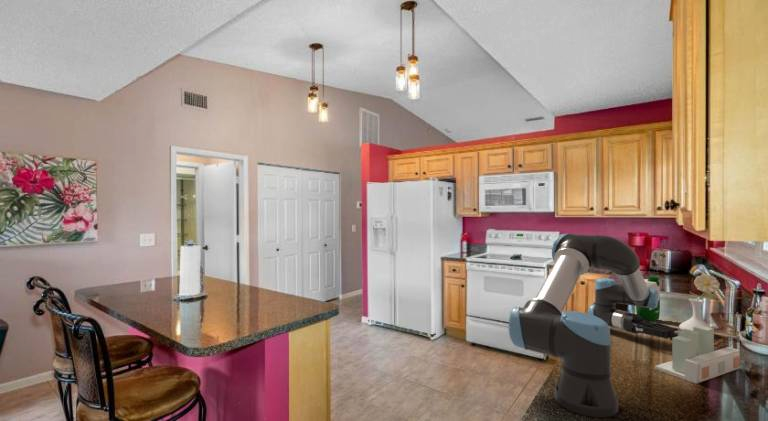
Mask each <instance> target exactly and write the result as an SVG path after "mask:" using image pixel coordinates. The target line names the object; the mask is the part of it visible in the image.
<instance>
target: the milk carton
mask: <svg viewBox="0 0 768 421" xmlns="http://www.w3.org/2000/svg"><path fill="white" fill-rule="evenodd" d="M644 280H645V283H646V285H647V287H648V289H649V288H650V289H654V290H656V291H657V292H658V305H657V307H656V308H645V307H639V306H635V312H636V313H635V314H637V315H640V316H641V317H642V319H643V321H645V320H646V321H650V322H652V323H655V322H657V321H658V320H660V315H661V314H660V313H661V280H659V276H655V275H654V276H653V275H648V276H647V278H646V279H645V278H644Z"/></svg>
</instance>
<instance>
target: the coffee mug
mask: <svg viewBox="0 0 768 421" xmlns="http://www.w3.org/2000/svg"><path fill="white" fill-rule="evenodd" d="M615 309H617V310H621V311H625V312H629V310H628V309H629V305H626V304H620V303H616V306H615Z"/></svg>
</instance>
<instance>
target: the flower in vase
mask: <svg viewBox="0 0 768 421" xmlns="http://www.w3.org/2000/svg"><path fill="white" fill-rule="evenodd" d="M693 282H694V283H693V285H695V288H696V289H697V290H699V291H701V292H703V293H702V294H701V296H699V295H698V294H696V293H693V292H692V291H690V290H689V291H688V292H689V294H691V295H693V296H696V297H698V298H688V300H689V302H690V303H691V306H692V315H691V317H690V318H689V319H687V320H685V321H682V322H681V323H680V324H679V325H678V327H679V329H680V330H683V329H687V330H690V331H693V327H696V326H704V327H708V328H712V329H714V328H713V327H712V326H711V325H709V324H708V323H706V322H705V321H704V320H703V319H702V317H701V307H702V305H703V304H704V302H705V300H703V299H701V298H702V297H705V298H706V299H709V300H712V299H713V300H714V299H718V297H717V296H716V295H715V294H713V293H714V292H718V290H719V288H720V286H721V284H720V282H719V280H718V279H717V278H716V277H715V276H712V275H711V274H707V273H705V274H700V275H698V276H696V277H695V279H694V281H693Z"/></svg>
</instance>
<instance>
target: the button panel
mask: <svg viewBox="0 0 768 421" xmlns="http://www.w3.org/2000/svg"><path fill="white" fill-rule="evenodd" d="M737 352H738V353H739V356H740V357H741V355H740V352H741V350H740V349H738V348H733V347H729V346H727V347H724V348H720V349H717V350H714V351H713V352H710V353H706V354H703V355H700V356H696V357H693V358H690V359H686V360H685V373H682V372H679V371H676V370H674V369H672V360H670V361H667V362H664V363H660V364H657V365H654V369H655V370H657V371H660V372H663V373H665V374H668V375H671V376H674V377H677V378H679V379H683V380H685V381H688V382H690V383H693V384H699V383H702V382H704V381H702V382H700V381H699V364H702V363H706V362H709V361H712V360H715V359H718V358H721V357H725V356H728V355H731V354H734V353H737ZM740 368H741V365H740V366H739V369H740ZM736 370H738V369H736ZM736 370H733V371H736ZM733 371H732V372H733ZM720 376H721V375H719V376H716V377H720ZM716 377H713V378H712V379H714V378H716Z"/></svg>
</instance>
